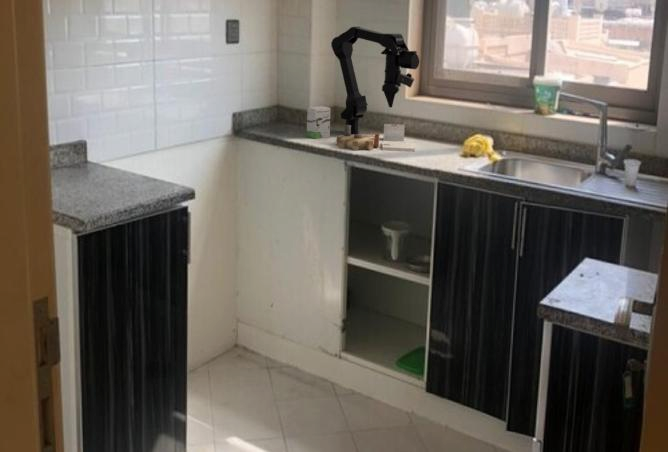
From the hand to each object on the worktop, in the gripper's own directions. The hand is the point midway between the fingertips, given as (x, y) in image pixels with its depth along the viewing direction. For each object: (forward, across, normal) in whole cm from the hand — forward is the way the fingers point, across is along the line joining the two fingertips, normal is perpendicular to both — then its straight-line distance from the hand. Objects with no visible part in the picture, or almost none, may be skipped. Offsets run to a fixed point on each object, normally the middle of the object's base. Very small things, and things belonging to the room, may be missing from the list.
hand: (390, 107), depth 331 cm
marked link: (+13, +2, -2) cm, 14 cm away
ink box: (+13, -2, +28) cm, 31 cm away
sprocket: (+13, -15, +11) cm, 23 cm away
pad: (+13, -13, -4) cm, 19 cm away
